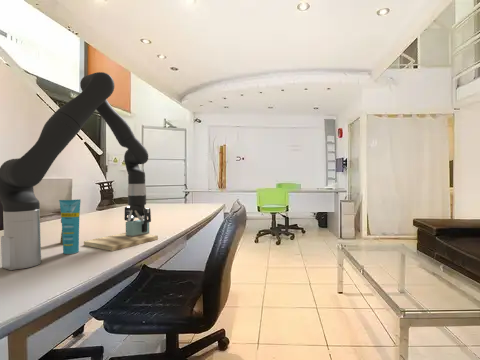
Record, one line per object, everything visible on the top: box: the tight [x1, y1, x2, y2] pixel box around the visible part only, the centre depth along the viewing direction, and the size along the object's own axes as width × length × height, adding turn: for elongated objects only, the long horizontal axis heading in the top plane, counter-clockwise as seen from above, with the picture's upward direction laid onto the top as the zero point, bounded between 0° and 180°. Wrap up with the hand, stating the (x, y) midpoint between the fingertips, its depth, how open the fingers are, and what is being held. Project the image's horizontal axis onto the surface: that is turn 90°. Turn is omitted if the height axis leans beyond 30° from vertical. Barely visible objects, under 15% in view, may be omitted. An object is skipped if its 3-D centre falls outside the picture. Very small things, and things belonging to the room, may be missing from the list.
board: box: [83, 232, 159, 252], centre depth 125 cm, size 22×18×2 cm
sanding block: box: [125, 219, 150, 237], centre depth 132 cm, size 9×4×6 cm, turn 149°
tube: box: [58, 198, 82, 255], centre depth 109 cm, size 7×5×19 cm, turn 98°
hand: (137, 231), depth 131 cm, fingers open, 8 cm apart
